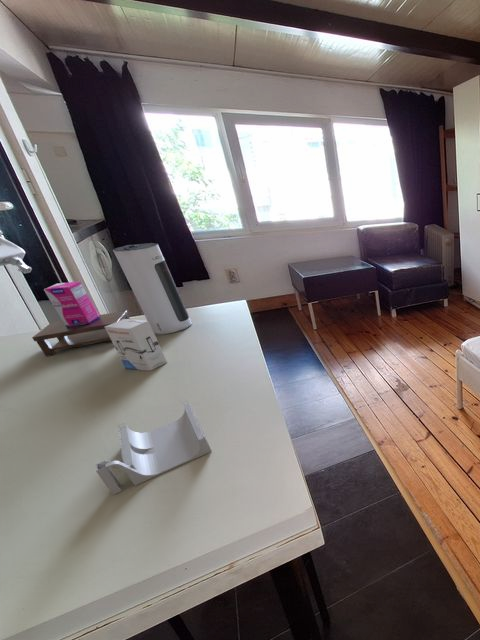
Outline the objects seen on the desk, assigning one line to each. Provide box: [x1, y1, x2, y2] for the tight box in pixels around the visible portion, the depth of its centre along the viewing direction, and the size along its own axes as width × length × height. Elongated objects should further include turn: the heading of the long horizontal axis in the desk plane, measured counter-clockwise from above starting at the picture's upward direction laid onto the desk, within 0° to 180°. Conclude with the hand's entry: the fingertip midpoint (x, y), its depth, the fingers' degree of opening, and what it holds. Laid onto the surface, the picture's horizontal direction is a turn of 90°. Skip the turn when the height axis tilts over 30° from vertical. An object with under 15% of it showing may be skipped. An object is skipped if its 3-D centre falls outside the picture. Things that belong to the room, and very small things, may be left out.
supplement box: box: [43, 281, 100, 327], centre depth 104 cm, size 6×6×12 cm
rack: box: [31, 310, 131, 357], centre depth 108 cm, size 18×12×6 cm, turn 119°
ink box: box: [105, 318, 168, 372], centre depth 91 cm, size 9×5×12 cm, turn 76°
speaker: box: [112, 242, 193, 335], centre depth 110 cm, size 11×10×26 cm
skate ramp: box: [95, 401, 212, 496], centre depth 63 cm, size 15×13×5 cm
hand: (13, 275), depth 99 cm, fingers open, 8 cm apart
